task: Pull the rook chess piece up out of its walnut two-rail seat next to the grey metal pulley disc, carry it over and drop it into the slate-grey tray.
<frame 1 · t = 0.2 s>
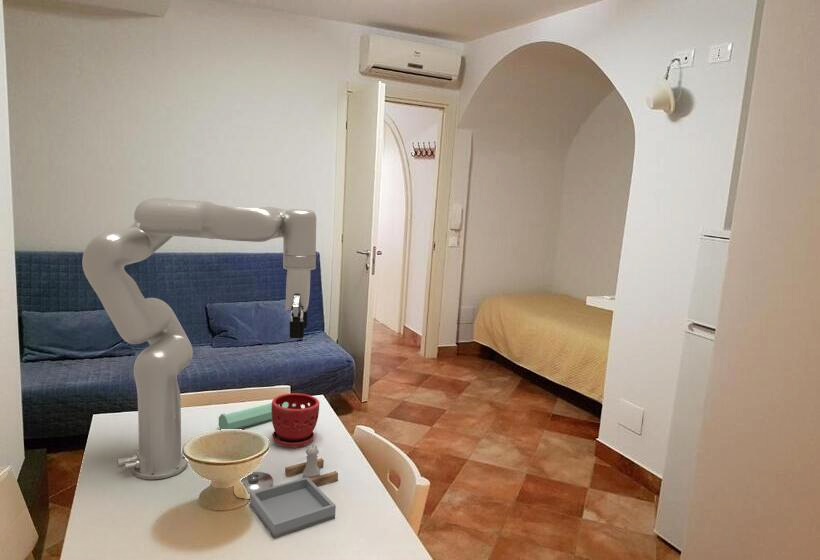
hand: (298, 332, 133), 36 cm above the table, tool pointing down, fingers open, 9 cm apart
mint green rod: (261, 422, 167), on the table
plant pot: (294, 441, 156), on the table
rook chess piece: (311, 478, 137), on the table
tray: (292, 511, 122), on the table
pin seat: (311, 477, 137), on the table
pulley: (253, 489, 130), on the table
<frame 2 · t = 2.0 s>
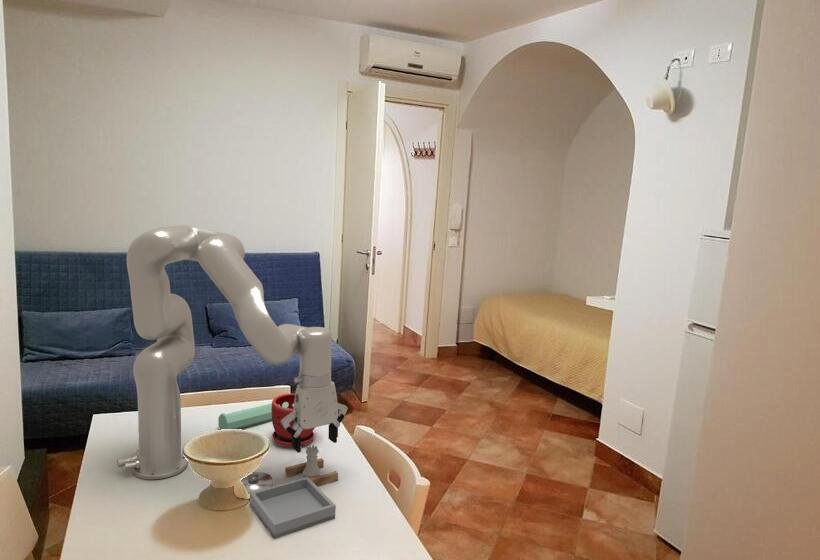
hand: (315, 445, 135), 9 cm above the table, tool pointing down, fingers open, 9 cm apart
nothing on the table moved.
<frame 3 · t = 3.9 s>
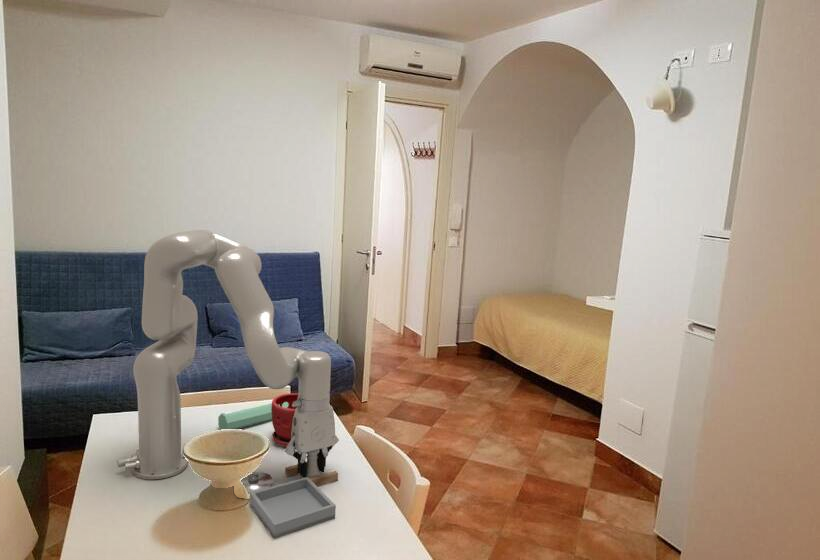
hand: (311, 472, 136), 2 cm above the table, tool pointing down, fingers closed on rook chess piece, 4 cm apart
rook chess piece: (311, 478, 137), on the table, touching gripper
everything else where it was.
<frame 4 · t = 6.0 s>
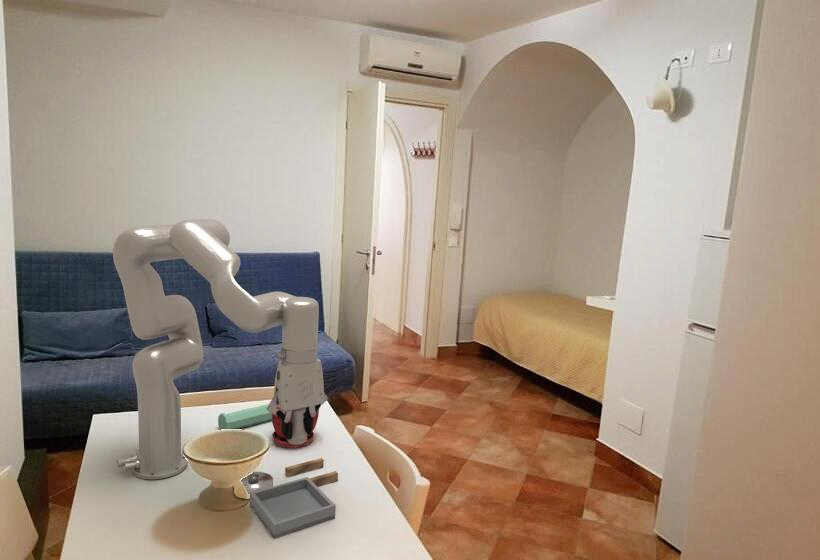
hand: (297, 433, 121), 17 cm above the table, tool pointing down, fingers closed on rook chess piece, 4 cm apart
rook chess piece: (297, 441, 122), point 15 cm above the table, touching gripper
everything else where it was.
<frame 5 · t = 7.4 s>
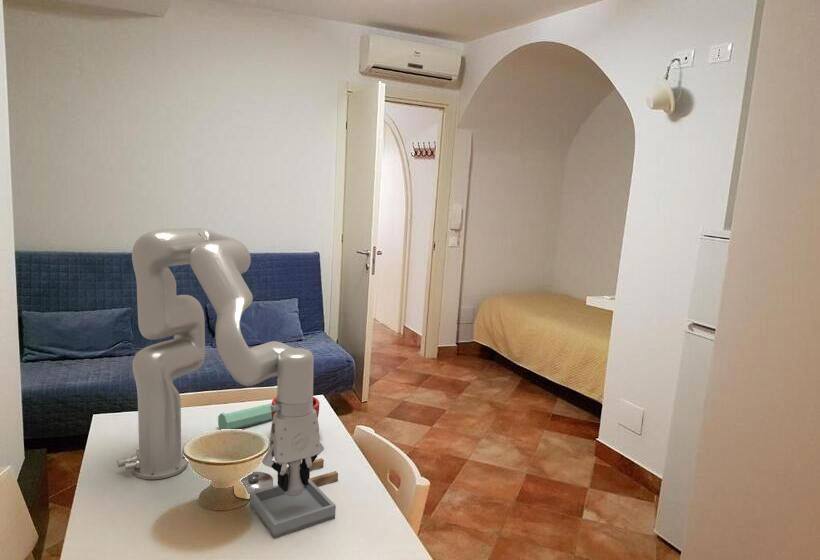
hand: (293, 484, 121), 6 cm above the table, tool pointing down, fingers closed on rook chess piece, 4 cm apart
rook chess piece: (293, 492, 121), point 5 cm above the table, touching gripper
everything else where it was.
when the fingers open (4 cm above the table, at t = 8.4 s): rook chess piece drops 2 cm, resting on tray.
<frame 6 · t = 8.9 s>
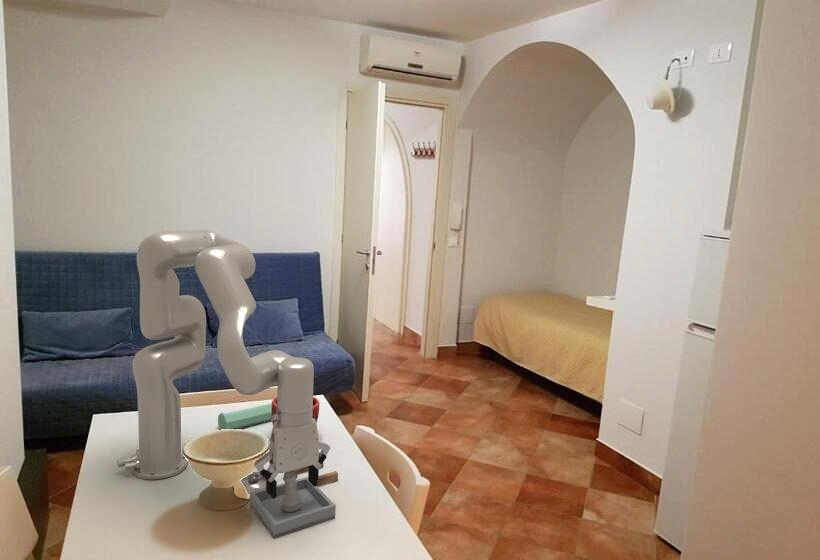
hand: (292, 489, 121), 5 cm above the table, tool pointing down, fingers open, 9 cm apart
rook chess piece: (291, 508, 122), point 1 cm above the table, touching tray
everything else where it was.
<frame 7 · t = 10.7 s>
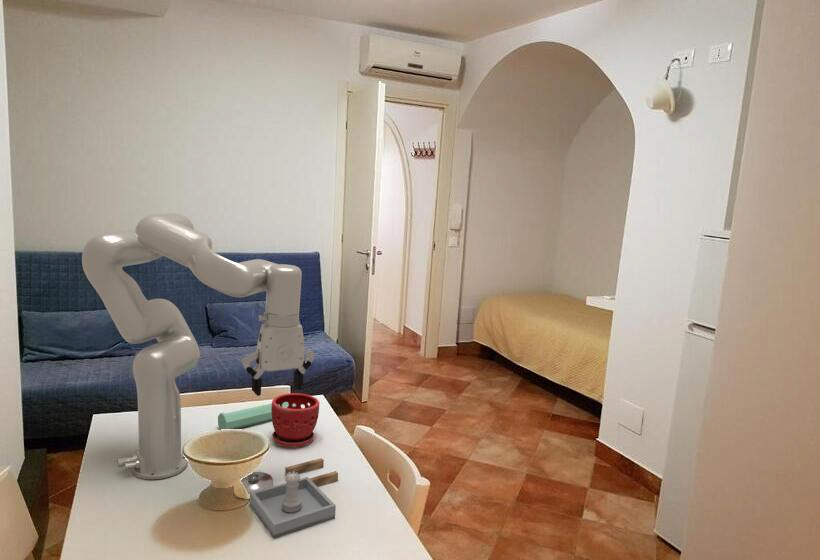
hand: (277, 391, 127), 24 cm above the table, tool pointing down, fingers open, 9 cm apart
nothing on the table moved.
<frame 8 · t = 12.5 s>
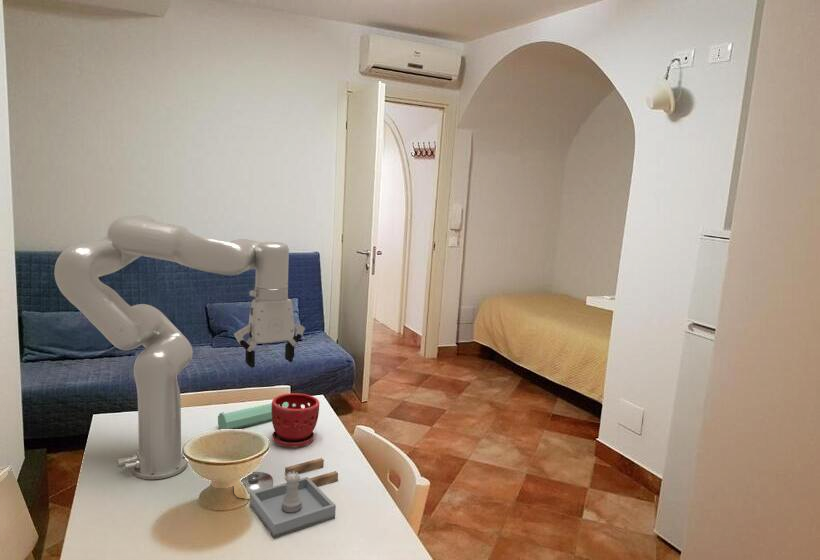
hand: (270, 363, 134), 28 cm above the table, tool pointing down, fingers open, 9 cm apart
nothing on the table moved.
at the end: rook chess piece inside the target area on the tray (0.1 cm from its centre), point 0.6 cm above the tray's base; the gripper is holding nothing; rook chess piece moved 14.8 cm from its start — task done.
